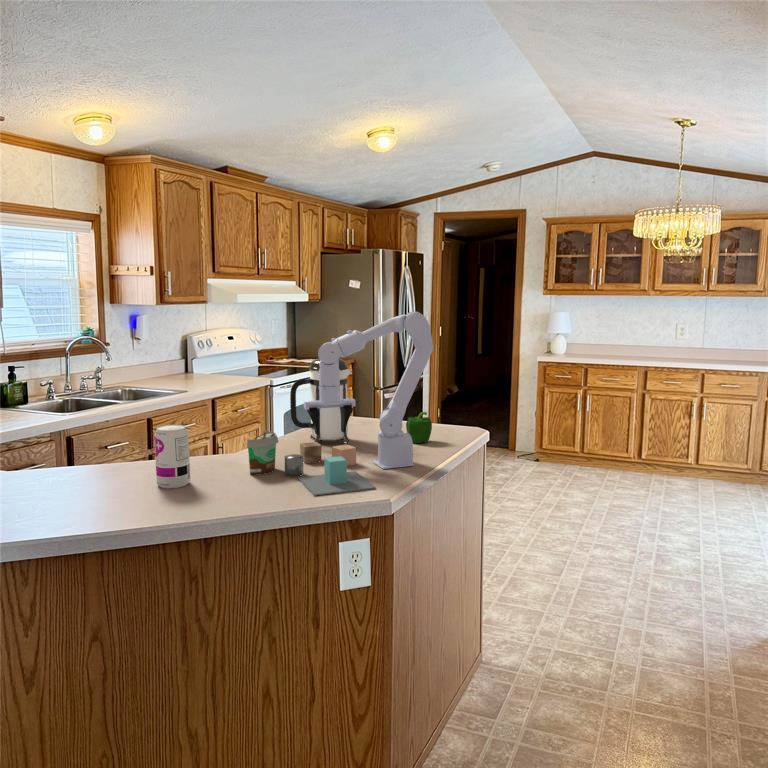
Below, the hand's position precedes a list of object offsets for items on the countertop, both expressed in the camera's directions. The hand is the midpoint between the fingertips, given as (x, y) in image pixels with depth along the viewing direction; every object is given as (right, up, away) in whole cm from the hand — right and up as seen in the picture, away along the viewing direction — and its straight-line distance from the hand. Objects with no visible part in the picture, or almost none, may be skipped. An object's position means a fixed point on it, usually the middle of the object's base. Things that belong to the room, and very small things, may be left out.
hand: (330, 432), depth 189 cm
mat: (+3, -12, -17) cm, 21 cm away
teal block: (+3, -11, -16) cm, 20 cm away
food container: (-17, -10, -4) cm, 20 cm away
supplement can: (-39, -12, -17) cm, 44 cm away
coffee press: (-4, -5, +31) cm, 31 cm away
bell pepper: (+27, -5, +30) cm, 40 cm away
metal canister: (-9, -11, -8) cm, 16 cm away
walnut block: (-6, -9, +6) cm, 12 cm away
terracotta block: (+4, -9, +3) cm, 10 cm away
